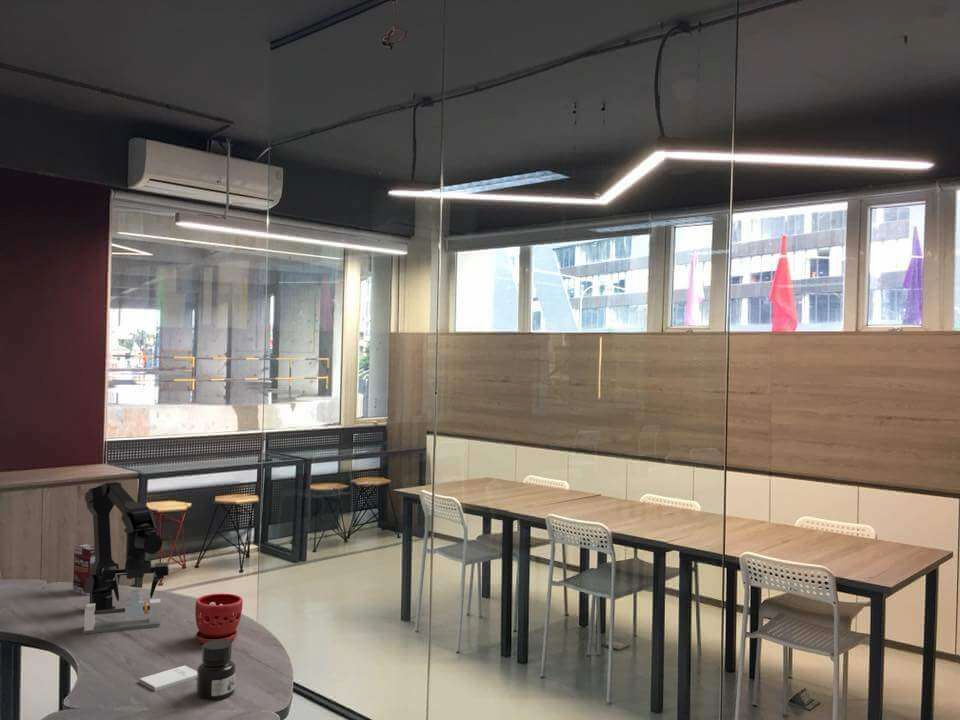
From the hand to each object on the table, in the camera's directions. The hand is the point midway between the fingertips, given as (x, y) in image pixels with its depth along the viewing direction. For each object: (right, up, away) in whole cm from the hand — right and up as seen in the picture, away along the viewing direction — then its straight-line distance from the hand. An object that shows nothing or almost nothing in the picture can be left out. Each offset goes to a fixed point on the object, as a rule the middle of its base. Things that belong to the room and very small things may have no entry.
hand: (134, 599), depth 237 cm
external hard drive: (+27, -9, -39) cm, 48 cm away
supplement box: (-31, -8, +33) cm, 46 cm away
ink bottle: (+41, -9, -47) cm, 63 cm away
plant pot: (+29, -9, -10) cm, 32 cm away
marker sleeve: (0, -5, 0) cm, 5 cm away
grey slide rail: (-3, -8, -1) cm, 9 cm away
